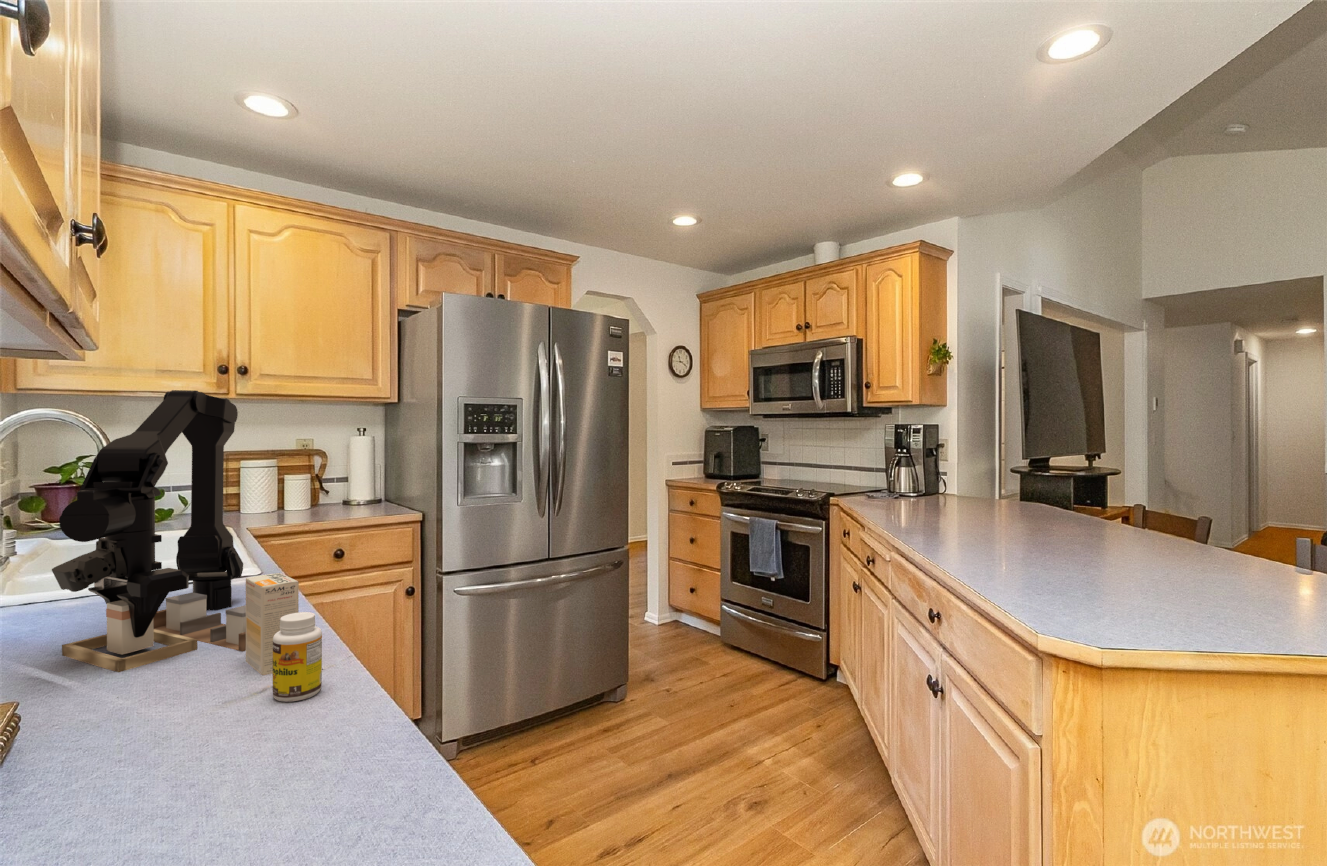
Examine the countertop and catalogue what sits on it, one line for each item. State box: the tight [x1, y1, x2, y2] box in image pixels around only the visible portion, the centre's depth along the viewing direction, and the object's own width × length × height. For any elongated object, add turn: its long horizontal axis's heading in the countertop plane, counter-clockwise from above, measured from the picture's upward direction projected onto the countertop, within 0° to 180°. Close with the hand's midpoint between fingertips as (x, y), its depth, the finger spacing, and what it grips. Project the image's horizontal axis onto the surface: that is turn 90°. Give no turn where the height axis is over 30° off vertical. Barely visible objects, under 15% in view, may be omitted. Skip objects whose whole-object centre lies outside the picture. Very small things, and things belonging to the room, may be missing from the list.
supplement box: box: [245, 572, 300, 676], centre depth 92 cm, size 8×5×13 cm, turn 47°
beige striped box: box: [105, 600, 155, 656], centre depth 96 cm, size 4×4×7 cm
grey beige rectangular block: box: [165, 591, 207, 631], centre depth 108 cm, size 4×4×5 cm
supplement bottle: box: [271, 611, 323, 703], centre depth 84 cm, size 6×6×10 cm
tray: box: [61, 629, 198, 673], centre depth 96 cm, size 15×10×2 cm, turn 65°
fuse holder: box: [153, 608, 246, 653], centre depth 105 cm, size 25×7×4 cm, turn 65°
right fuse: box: [225, 604, 246, 645], centre depth 101 cm, size 4×4×5 cm
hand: (130, 634), depth 96 cm, fingers closed on beige striped box, 4 cm apart
